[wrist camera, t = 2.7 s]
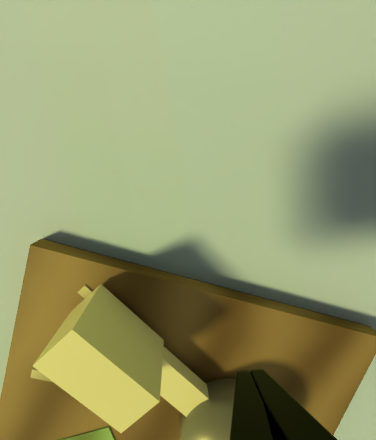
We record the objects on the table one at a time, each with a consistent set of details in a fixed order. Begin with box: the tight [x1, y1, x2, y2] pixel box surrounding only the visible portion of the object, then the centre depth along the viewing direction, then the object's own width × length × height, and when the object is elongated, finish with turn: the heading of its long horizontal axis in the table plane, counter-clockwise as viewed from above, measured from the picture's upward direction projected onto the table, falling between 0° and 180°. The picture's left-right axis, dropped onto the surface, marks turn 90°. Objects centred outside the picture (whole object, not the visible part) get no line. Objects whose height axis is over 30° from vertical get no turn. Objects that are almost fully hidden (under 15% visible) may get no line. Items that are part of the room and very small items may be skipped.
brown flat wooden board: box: [0, 239, 376, 440], centre depth 18 cm, size 22×20×1 cm
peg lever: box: [33, 284, 236, 440], centre depth 14 cm, size 15×6×4 cm, turn 43°
